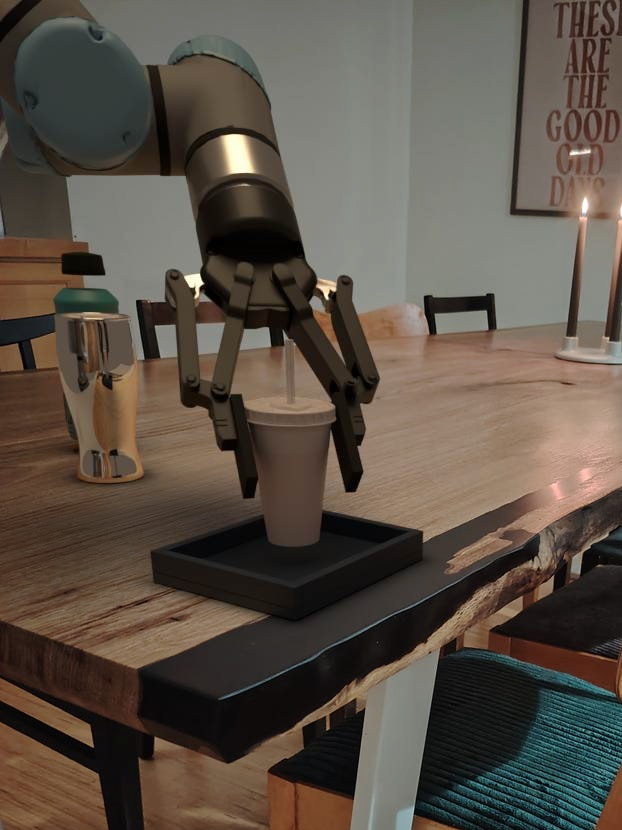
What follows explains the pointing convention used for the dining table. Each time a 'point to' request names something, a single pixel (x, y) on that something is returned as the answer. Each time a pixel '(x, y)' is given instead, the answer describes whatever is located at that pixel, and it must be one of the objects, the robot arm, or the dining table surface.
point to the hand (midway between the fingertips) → (303, 484)
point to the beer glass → (101, 392)
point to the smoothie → (291, 460)
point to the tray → (287, 563)
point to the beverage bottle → (83, 298)
